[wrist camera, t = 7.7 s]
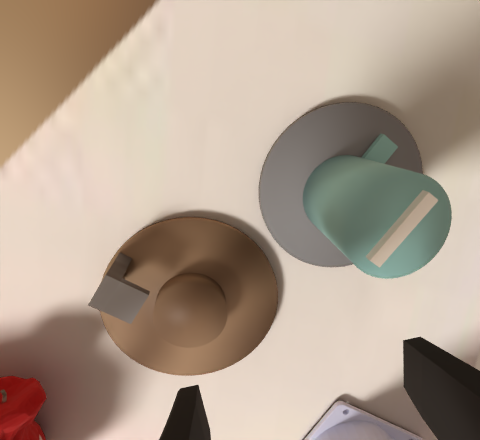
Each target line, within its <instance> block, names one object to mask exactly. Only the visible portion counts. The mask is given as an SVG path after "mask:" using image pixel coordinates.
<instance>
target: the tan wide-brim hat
mask: <svg viewBox="0 0 480 440" xmlns="http://www.w3.org/2000/svg"><path fill="white" fill-rule="evenodd" d="M277 304H278V290H277V282H276V279H275V275H274V272H273V270H272V268H271V266H270V263H269V261H268V259H267V258H266V256H265V254H264V253H263V251H262V250H261V249H260V248H259V247H258V245H257V244H256V243H255V242H254V241H253V240H252V239H250V238H249V237H248V236H247V235H246V234H244V233H243V232H241V231H240V230H238V229H236V228H234V227H232V226H230V225H228V224H225V223H222V222H219V221H216V220H212V219H207V218H199V217H181V218H174V219H169V220H165V221H162V222H158V223H155V224H153V225H151V226H149V227H146V228H144V229H143V230H141V231H140V232H138V233H136V234H135V235H133V236H132V237H131V238H130V239H129V240H127V241H126V242H125V243H124V244H123V245H122V246H121V248H120V249H119V250H118V251H117V252H116V254H115V255H114V257H113V258H112V260H111V261H110V263H109V265H108V267H107V269H106V271H105V273H104V275H103V279H102V282H101V284H100V285H99V287H98V289H97V291H96V292H95V294H94V296H93V298H92V299H91V301H90V303H89V304H88V305H89V306H91V307H93V308H96V309H98V310H100V312H101V317H102V320H103V323H104V326H105V328H106V330H107V332H108V334H109V335H110V337H111V338H112V340H113V341H114V342H115V344H116V345H117V346H118V347H119V348H120V349H121V350H122V351H123V352H124V353H125V354H126V355H128V356H129V357H130V358H131V359H133V360H135V361H136V362H138V363H139V364H141V365H143V366H145V367H148V368H150V369H153V370H156V371H159V372H163V373H167V374H173V375H202V374H207V373H212V372H215V371H218V370H221V369H224V368H226V367H229V366H231V365H233V364H235V363H236V362H238V361H240V360H242V359H243V358H244V357H246V356H247V355H248V354H250V353H251V352H252V351H253V350H254V349H255V348H256V347H257V346H258V345H259V344H260V343H261V341H262V340H263V339H264V337H265V336H266V334H267V333H268V331H269V329H270V327H271V325H272V323H273V320H274V317H275V314H276V310H277Z"/></svg>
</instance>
